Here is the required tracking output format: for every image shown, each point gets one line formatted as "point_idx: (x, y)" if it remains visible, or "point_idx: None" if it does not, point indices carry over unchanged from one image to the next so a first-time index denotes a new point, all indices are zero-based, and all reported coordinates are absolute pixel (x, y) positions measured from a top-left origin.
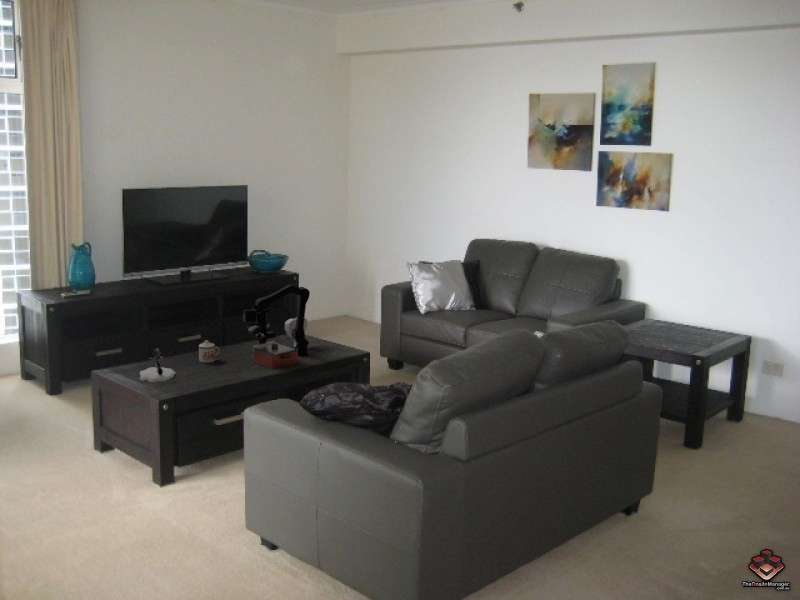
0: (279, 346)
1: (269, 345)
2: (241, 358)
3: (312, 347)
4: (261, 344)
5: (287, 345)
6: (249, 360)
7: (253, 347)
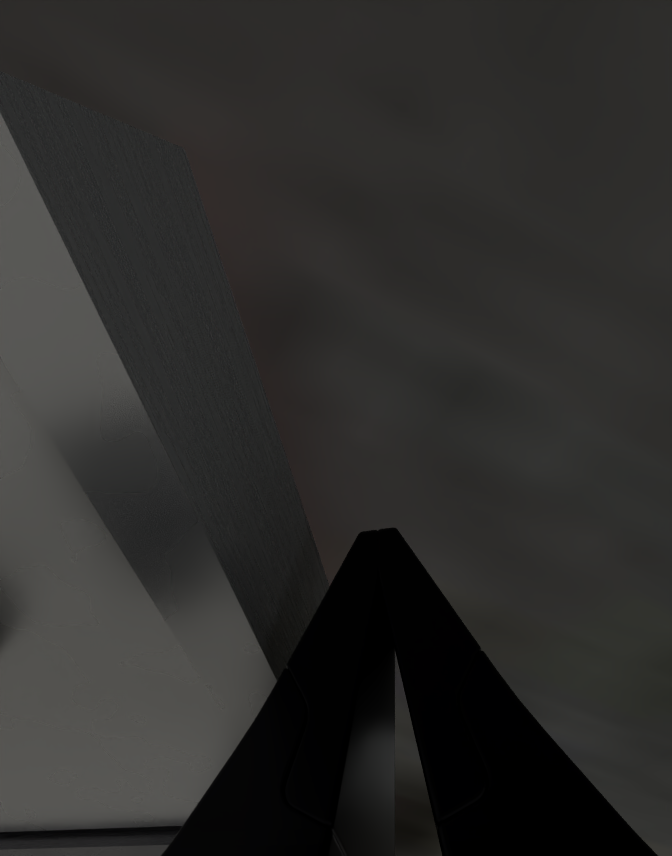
0: (11, 767)
1: (162, 689)
2: (632, 37)
3: (438, 844)
4: (133, 569)
5: (16, 849)
6: (373, 145)
7: (25, 107)
